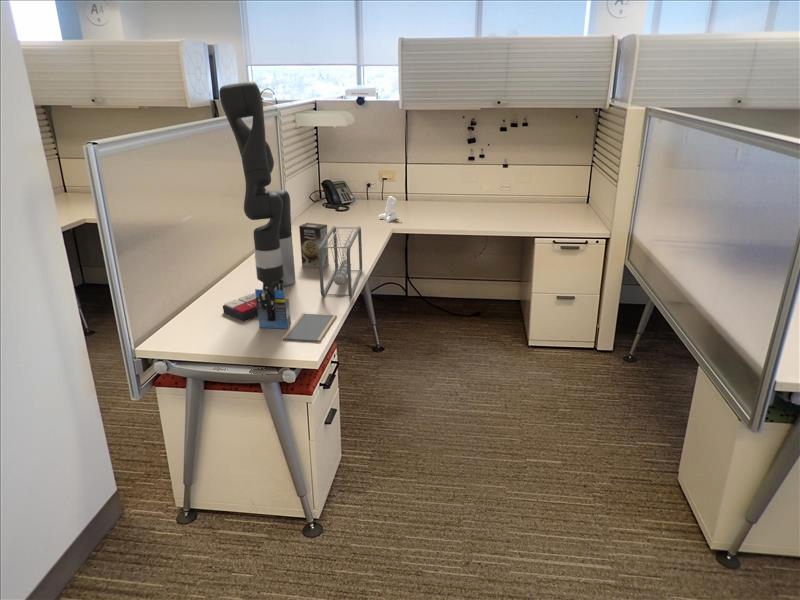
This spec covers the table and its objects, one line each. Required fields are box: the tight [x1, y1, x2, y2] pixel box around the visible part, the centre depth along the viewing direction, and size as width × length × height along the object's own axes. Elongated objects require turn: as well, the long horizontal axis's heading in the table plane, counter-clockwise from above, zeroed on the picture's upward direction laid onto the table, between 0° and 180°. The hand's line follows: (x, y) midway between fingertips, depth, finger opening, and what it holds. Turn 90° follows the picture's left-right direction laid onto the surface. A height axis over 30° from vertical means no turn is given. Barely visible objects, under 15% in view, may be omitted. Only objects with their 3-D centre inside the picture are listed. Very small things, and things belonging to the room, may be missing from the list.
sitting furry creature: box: [378, 195, 399, 223], centre depth 292 cm, size 10×9×12 cm
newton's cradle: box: [318, 225, 363, 298], centre depth 203 cm, size 30×10×18 cm, turn 176°
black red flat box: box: [222, 292, 258, 323], centre depth 183 cm, size 11×4×15 cm
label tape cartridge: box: [254, 288, 292, 330], centre depth 170 cm, size 9×4×12 cm, turn 83°
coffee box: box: [298, 222, 330, 269], centre depth 223 cm, size 9×6×16 cm
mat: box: [282, 312, 337, 343], centre depth 170 cm, size 18×11×1 cm, turn 171°
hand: (274, 317), depth 171 cm, fingers closed on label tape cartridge, 4 cm apart
